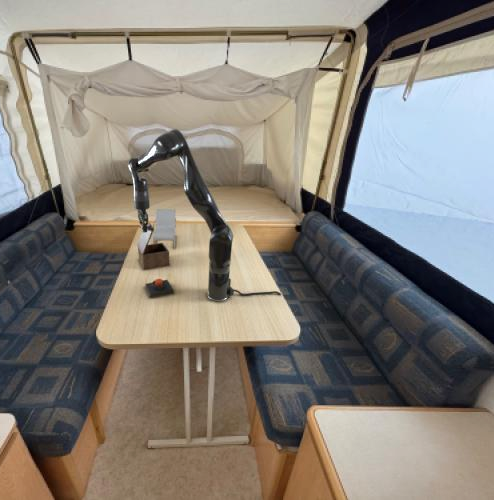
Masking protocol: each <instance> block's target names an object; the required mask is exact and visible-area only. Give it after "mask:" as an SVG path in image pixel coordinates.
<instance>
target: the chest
mask: <svg viewBox="0 0 494 500" xmlns="http://www.w3.org/2000/svg"><path fill="white" fill-rule="evenodd" d="M137 254H138V261H139V263H140V265H141V267H142V269H143V271H146V270H152V269H157V268H158V269H159V268H163V267H169V266H170V250H169V249H168V248H167V246H166V245H165V244H164V243H163V242H158V243H157V242H156V244H155V243H154V244H153V243H151V244H150V243H149V244H148V245H147V248H146V250H145V253H144V255H142V253H141V251H140V250H139V248H138V247H137Z"/></svg>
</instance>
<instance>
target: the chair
mask: <svg viewBox="0 0 494 500" xmlns="http://www.w3.org/2000/svg"><path fill="white" fill-rule="evenodd" d="M152 226H153V228H154V231H153V233H152V235H153V236H152V239H153V243H152V244H157V242H158V241H159V242H161V241H164V242H165V241H166V242H167V241H168V242H169V241H170V242H173V248H174V249H175V248H176V239H177V217H176V209H173V208H170V209H168V208H156V209H155V219H154V222H153V224H152Z"/></svg>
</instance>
